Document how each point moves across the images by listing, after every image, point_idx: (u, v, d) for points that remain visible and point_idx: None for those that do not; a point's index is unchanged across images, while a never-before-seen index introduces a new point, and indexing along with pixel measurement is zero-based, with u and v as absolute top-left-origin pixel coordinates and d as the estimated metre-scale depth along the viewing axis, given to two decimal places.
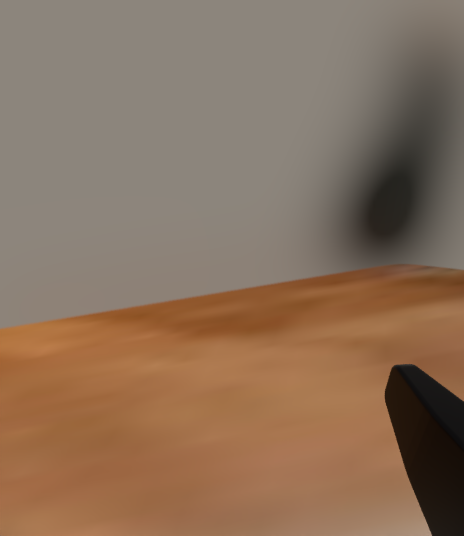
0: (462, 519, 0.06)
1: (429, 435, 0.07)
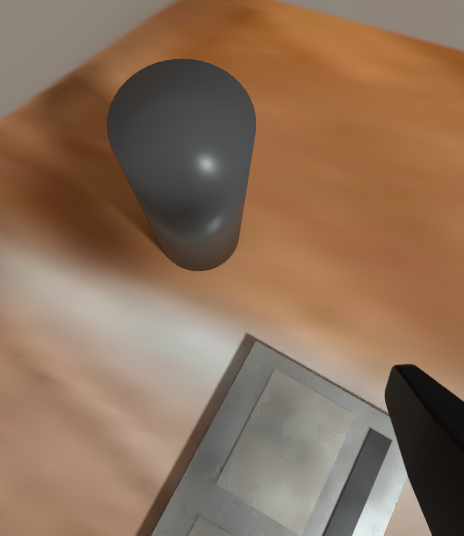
0: (462, 519, 0.06)
1: (429, 435, 0.07)
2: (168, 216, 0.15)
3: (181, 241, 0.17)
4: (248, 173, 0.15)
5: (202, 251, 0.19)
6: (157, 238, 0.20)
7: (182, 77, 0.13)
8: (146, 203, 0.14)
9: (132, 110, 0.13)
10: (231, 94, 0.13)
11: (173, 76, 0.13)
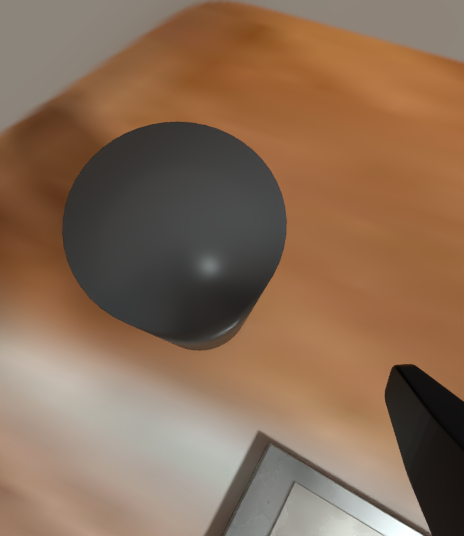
0: (462, 519, 0.06)
1: (429, 435, 0.07)
2: (157, 335, 0.10)
3: (176, 343, 0.13)
4: None
5: (204, 345, 0.15)
6: None
7: (176, 149, 0.09)
8: None
9: (101, 202, 0.08)
10: (249, 176, 0.09)
11: (163, 148, 0.09)
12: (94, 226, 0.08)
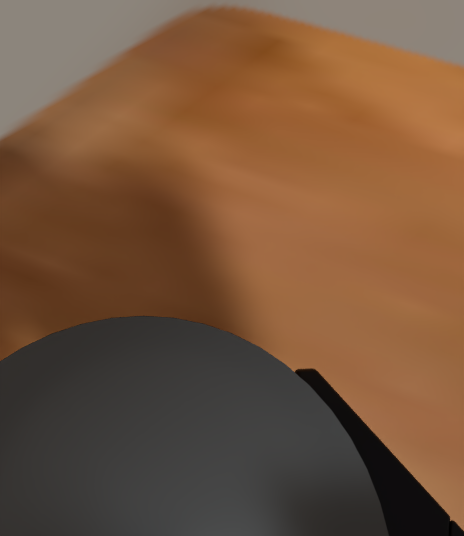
0: None
1: None
2: None
3: None
4: None
5: None
6: None
7: (135, 388, 0.04)
8: None
9: None
10: (304, 458, 0.04)
11: (105, 386, 0.04)
12: None
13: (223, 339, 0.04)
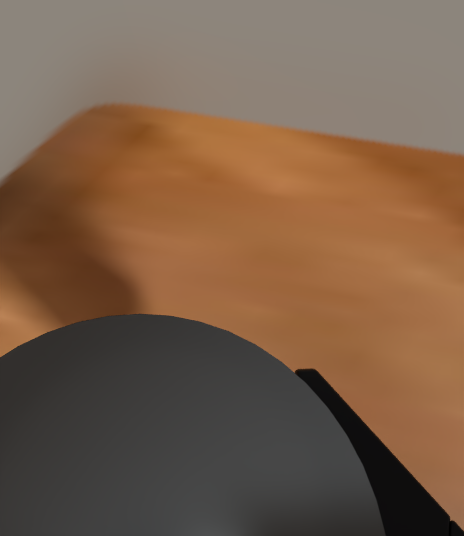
0: None
1: None
2: None
3: None
4: None
5: None
6: None
7: (132, 386, 0.04)
8: None
9: None
10: (300, 456, 0.04)
11: (102, 383, 0.04)
12: None
13: (219, 337, 0.04)
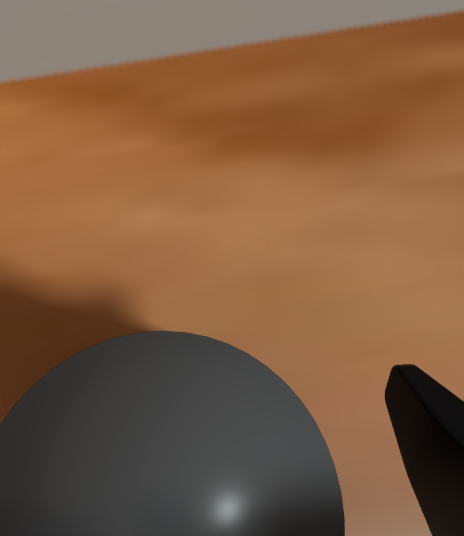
0: (462, 519, 0.06)
1: (429, 435, 0.07)
2: None
3: None
4: None
5: None
6: None
7: (158, 384, 0.05)
8: None
9: (29, 492, 0.05)
10: (280, 434, 0.05)
11: (136, 382, 0.05)
12: None
13: (222, 348, 0.05)
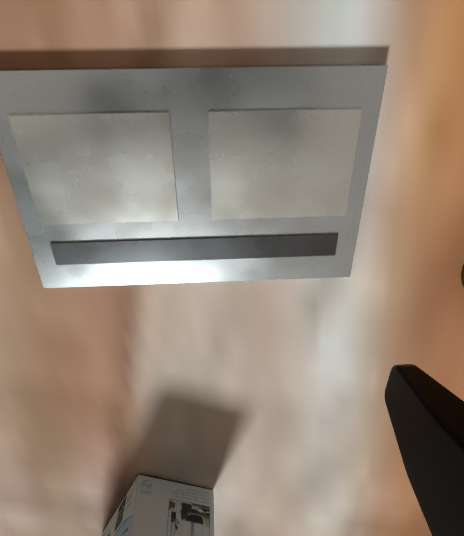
0: (462, 519, 0.06)
1: (429, 435, 0.07)
2: None
3: None
4: None
5: None
6: None
7: None
8: None
9: None
10: None
11: None
12: None
13: None
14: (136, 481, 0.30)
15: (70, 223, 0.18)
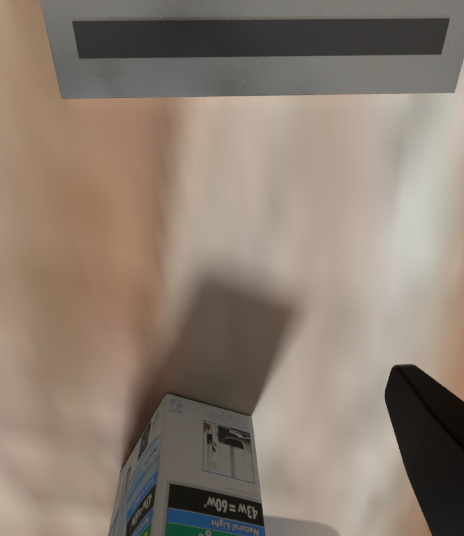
0: (462, 519, 0.06)
1: (429, 435, 0.07)
2: None
3: None
4: None
5: None
6: None
7: None
8: None
9: None
10: None
11: None
12: None
13: None
14: (164, 400, 0.25)
15: None
